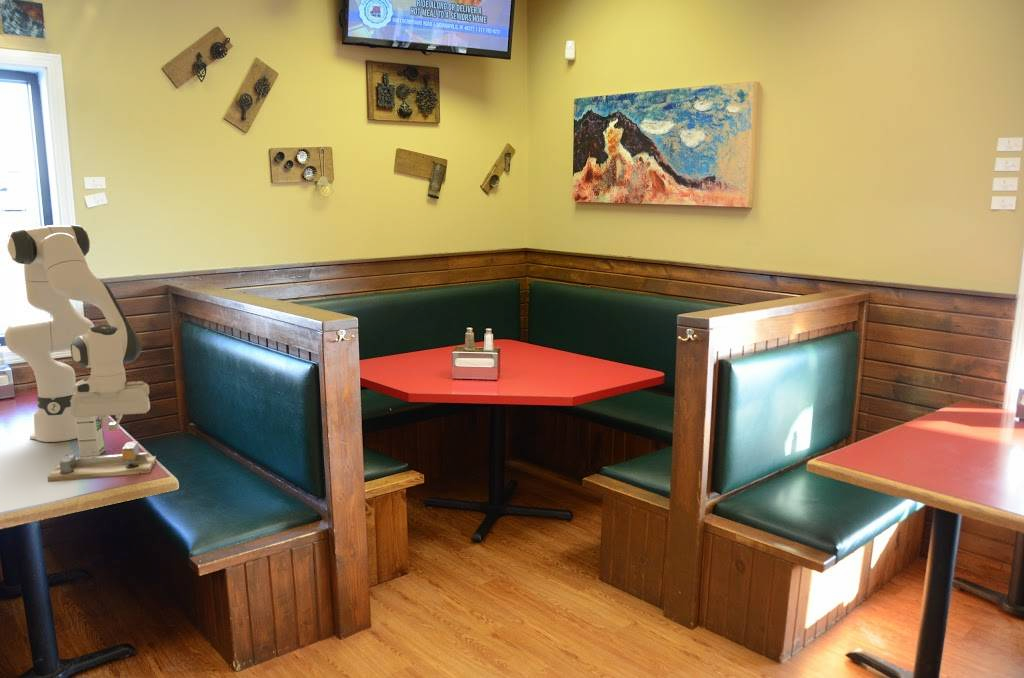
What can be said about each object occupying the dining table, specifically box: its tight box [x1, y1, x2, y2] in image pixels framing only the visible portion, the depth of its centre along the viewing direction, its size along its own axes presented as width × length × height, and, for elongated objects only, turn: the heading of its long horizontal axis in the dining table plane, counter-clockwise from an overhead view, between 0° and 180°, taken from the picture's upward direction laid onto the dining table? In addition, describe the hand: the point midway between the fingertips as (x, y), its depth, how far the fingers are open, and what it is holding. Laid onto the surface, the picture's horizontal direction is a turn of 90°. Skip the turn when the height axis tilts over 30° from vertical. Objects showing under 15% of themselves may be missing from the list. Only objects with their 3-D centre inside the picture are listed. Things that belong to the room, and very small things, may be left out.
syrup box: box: [75, 416, 106, 457], centre depth 249 cm, size 6×6×14 cm
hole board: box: [47, 455, 157, 482], centre depth 235 cm, size 12×26×1 cm, turn 105°
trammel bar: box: [59, 451, 148, 474], centre depth 235 cm, size 8×22×3 cm, turn 105°
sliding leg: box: [121, 440, 140, 466], centre depth 236 cm, size 7×3×6 cm, turn 15°
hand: (113, 429), depth 234 cm, fingers closed
